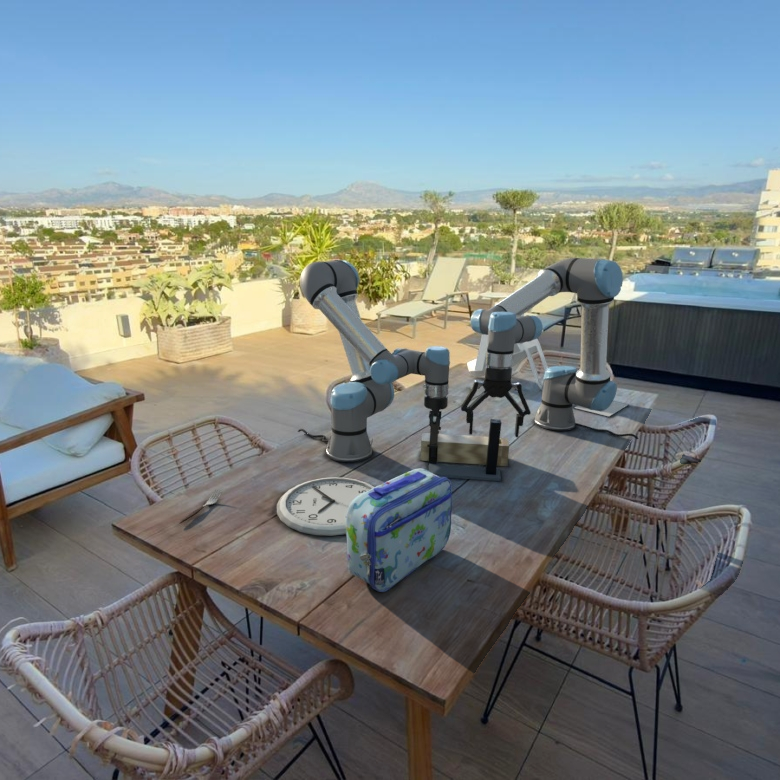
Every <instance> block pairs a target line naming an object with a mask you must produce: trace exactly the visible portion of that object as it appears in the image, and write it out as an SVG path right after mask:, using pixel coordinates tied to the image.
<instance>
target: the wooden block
mask: <svg viewBox="0 0 780 780" xmlns="http://www.w3.org/2000/svg"><path fill="white" fill-rule="evenodd" d="M488 440H489V436H485V435H484V436H481V435H468V434H467V435H465V434H449V433H439V434H438V442H437V445H438V453H437V463H439V462H440V463H452V464H453V463H455V464H469V465H470V464H471V465H484V466H486V460H487V450H488ZM420 442H421V443H420V461H421V462H422V461H424V462H429V447H427V444H428V445H429V444H430V432H422V434H421V440H420ZM509 451H510V445H509V440H508V437H500V441H499V450H498V460H497V467H499V466H500V467H508V462H509V454H510V453H509Z"/></svg>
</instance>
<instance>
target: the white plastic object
mask: <svg viewBox="0 0 780 780" xmlns="http://www.w3.org/2000/svg"><path fill="white" fill-rule="evenodd" d="M521 316H525V313H524V314H523V315H521ZM480 337H481V338H480V342H479V346H478V347H479V348H478V351H477V355H476V358H475V359H473V360H470V361H468V362H466V365H467V369H468V373H469V374H470V375H471V376H472V377H473V378H476V377H483V376H484V377H485V370H486V366H487V364H486V357H487V348H488V335H485V334H484V335H483V334H481V336H480ZM543 351H544V350H543V348H542V346H541V343H540V340H539V339H538V338H537V339H535V340H532V341H529V342H522V343H516V344H514V351H513V364H512V366H511V368H512V369H513V367H514V366H516V365H518V364H519V363H520V362H521V361H523V360H525V359H526V357H527V360H528V363H529V367H530V369H531V372H532V375H533V379H534V382H535V384H536V385H537V386H538V388H539V389H540V390H543V385H542V382H541V380H540V377H539V374H538V371H537V368H536V365H535V361H534V358H533V355H532V354H535V353H537V352H538V355H539V358H540V360H541V364H542V367H543V369H544V372H545V371H546V369H547V368H549V366H548V363H547V359H546V357H545V354H544V352H543Z"/></svg>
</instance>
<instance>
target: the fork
mask: <svg viewBox="0 0 780 780" xmlns="http://www.w3.org/2000/svg"><path fill="white" fill-rule="evenodd" d="M222 493H223V491H221V490H219V489H217V490H216V489H215V490H214V492H213V493H212V495H211V496H210V498H209V499H208V500H207V501H206V502H205V504H203V505H202V506H200V507H198V508H196V509H194V510H192V512H191V513H189V514H188V515H187V516H186V517H185V518H183V519H182V520H181V521H180V522H179V523H178V525H180V524H182V523H184V522H186V521H187V520H189V519H191V518H192V517H194V516H195V515H197V514H198V513H199V512H201V511H202V510H203V509H204V508H205V507H206V506H210V505H215V504H216V503H217V502H218V500H219V498H220V497H221V495H222Z"/></svg>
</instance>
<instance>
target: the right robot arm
mask: <svg viewBox="0 0 780 780" xmlns="http://www.w3.org/2000/svg"><path fill="white" fill-rule="evenodd" d="M623 282H624V277H623V271H622V268H621V266H620V265H619V263H617V262H616V261H614V260H610V259H605V258H581V257H570V258H565V259H561V260H559V261H557V262H555V263H552V264H550V265H549V266H547V267H545V268H544V269H542V270H540V271H539V272H538V273H537V275H536V277H535V278H534V279H532V280H531V281H529V282H528V283H526V284H524V285H522V287H519V289H517V290H515V291H514V292H513V293H511V294H509V295H508V296H507V297H505V298H504V299H502V300H501V301H499V302H497V303H496V304H495V305H493V306H492V307H490V308H489V309H485V308H482V309H476V310H475V311H474V312H473V313H472V314H471V317H470V327H471V329H472V331H473V332H475V333H479V334H481V335H482V334H483V335H484V334H485V335H488V348H487V357H486V364H487V366H486V370H485V376H484V381H479V380H477V379H474V380H473V383H472V387H471V389H470V390H469V392H468V394H467V396H466V397H465V399H464V400H463V402H462V404H461V405H460V410H461V411H462V412H464V413H465V414H466V420H465V421H466V424H469V430H468V432H469V433H468V434H469V435H470V436H473V426H474V424H473V423H474V410H475V409H477V407H479V405H480V404H481V403H483V402H484V401H485V400H486V399H487V398H488V397H490V398H498V399H499V398H500V399H502V398H504V397H505V398H506V399H507V401H508V402H509V403H510V404H511V406H512V407H513V408H514V410H515V411H516V415H515V425H514V437H515V438H519V434H520V427H523V426H524V419H525V416H530V415H531V414H532V412H531V410H530V408H529V405H528V403H527V400H526V398H525V395H524V393H523V387H522V386H523V385H522V383H521V382H520V381H517V382H515V383H512V376H513V375H512V373H513V367H512V368H511V366H512V364H513V351H514V344H516V343H520V344H522V343H524V342H529V341H532V340H535V339H538V338H540V337H541V335H542V333H543V329H544V328H543V327H544V326H543V322H542V320H541V319H540V317H538V316H536V315H529V314H526V313H527V312H528V311H530V310H531V309H533V308H534V307H535V306H537V305H538V304H540V303H542V302H543V301H544V300H546V299H547V298H548V297H555V296H557V295H558V294H560V293H572V294H576V302H577V303H578V304H580V305H581V317H580V321H581V322H580V323H581V324H580V361H579V362H580V363H579V365H580V367H579V369H578V368H577V367H576V366H571V365H555V366H554V365H553V366H550V367H548V368H547V369H546V371H545V370H544V375H543V381H542V382H543V383H542V390H541V391H542V394H541V402H540V405H539V407H538V408H537V411H536V413H535V417H534V424H535V425H536V426H537V427H539V428H542V429H544V430H549V431H556V432H567V431H572V430H574V429H575V428H576V426H577V427H581V428H583V429H584V428H585V429H587V430H592V431H594V432H601V433H608V434H610V435H612V436H614V437H620V438H621V437H623V438H624V437H633V438H634V439H636V440H639V437H638V436H637V435H636V434H634V433H622V434H621V433H620V434H619V433H615V432H613V431H612V430H608V429H603V428H602V429H601V428H596V427H595V428H594V427H591V426H588V425H586V424H582V423H577V422H576V418H575V417H576V416H575V413H574V407H573V405H574V406H581V407H585V408H588V409H590V410H596V411H604V410H606V409H607V408H608V407H609V406H610V405H611V403H612V402H613V401H614V400H615V398H616V395H617V391H618V385H617V383H616V382H615V381H613V380H611V372H610V371H609V370H608V369H607V357H608V354H607V353H608V336H609V334H608V333H609V332H608V331H609V314H610V313H609V312H610V311H609V310H610V304H611V303H613V302H614V301H615V298H616V297H617V296H619V294H620V293H621V290H622V287H623ZM523 314H524V316H521V315H523ZM525 314H526V315H525ZM481 387H482V388H483V391H482V392H481V394H480V395H479V396H478V397H477V398H476V399H475V400H473V398H474V396H475V395H476V394H477V391H478V390H479V389H480V388H481ZM512 389H514V391H516V392H517V394H518V396H519V399H520V401H521V404H522V407H523V409H522V408H521V406H520V405H519V404H518V403H517V401H516V400H515V398H514V397H513V396H512V395H511V393H510V391H511V390H512ZM472 400H473V402H472V403H471V401H472ZM470 403H471V404H470Z"/></svg>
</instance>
